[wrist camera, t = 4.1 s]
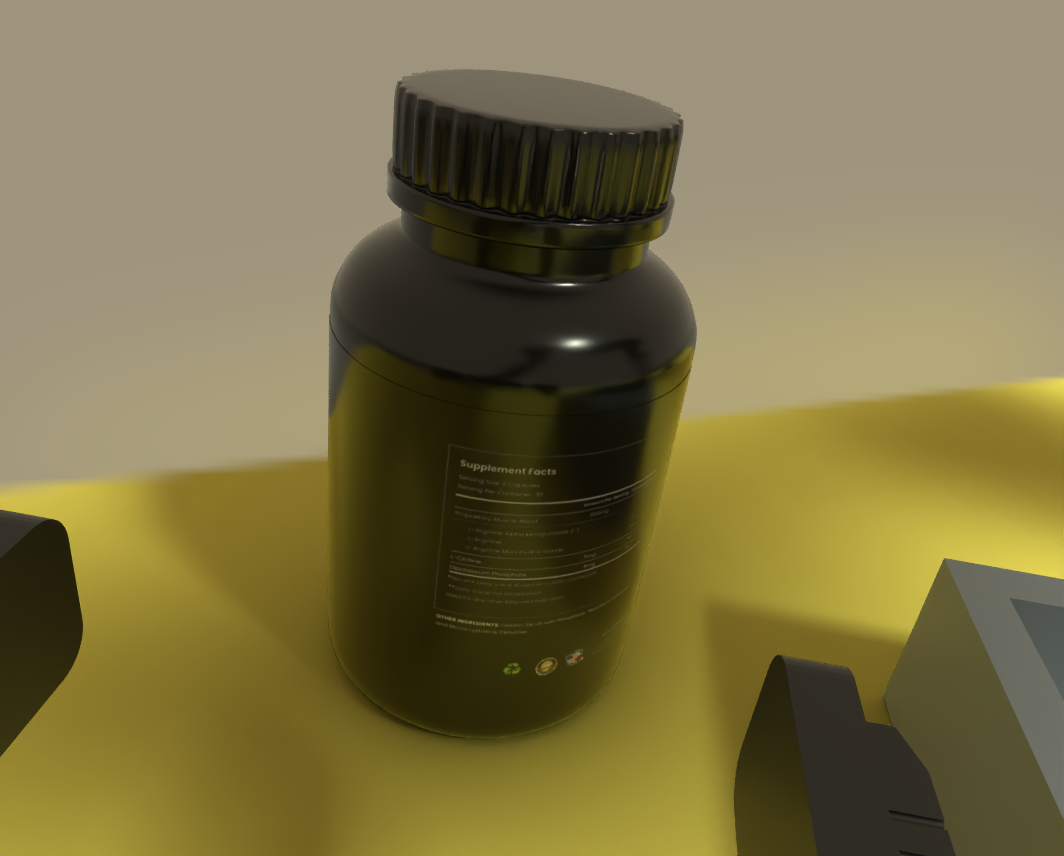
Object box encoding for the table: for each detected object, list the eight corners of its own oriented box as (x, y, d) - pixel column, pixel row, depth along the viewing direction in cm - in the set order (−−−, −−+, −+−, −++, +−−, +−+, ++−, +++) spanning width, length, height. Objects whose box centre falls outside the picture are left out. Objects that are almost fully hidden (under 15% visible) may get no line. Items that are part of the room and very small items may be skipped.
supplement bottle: (298, 567, 22) (295, 43, 16) (548, 528, 24) (623, 69, 19) (367, 794, 16) (400, 132, 11) (677, 712, 19) (839, 149, 13)
